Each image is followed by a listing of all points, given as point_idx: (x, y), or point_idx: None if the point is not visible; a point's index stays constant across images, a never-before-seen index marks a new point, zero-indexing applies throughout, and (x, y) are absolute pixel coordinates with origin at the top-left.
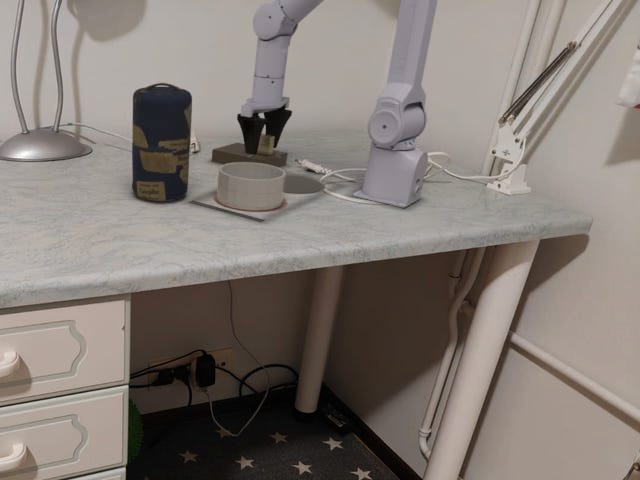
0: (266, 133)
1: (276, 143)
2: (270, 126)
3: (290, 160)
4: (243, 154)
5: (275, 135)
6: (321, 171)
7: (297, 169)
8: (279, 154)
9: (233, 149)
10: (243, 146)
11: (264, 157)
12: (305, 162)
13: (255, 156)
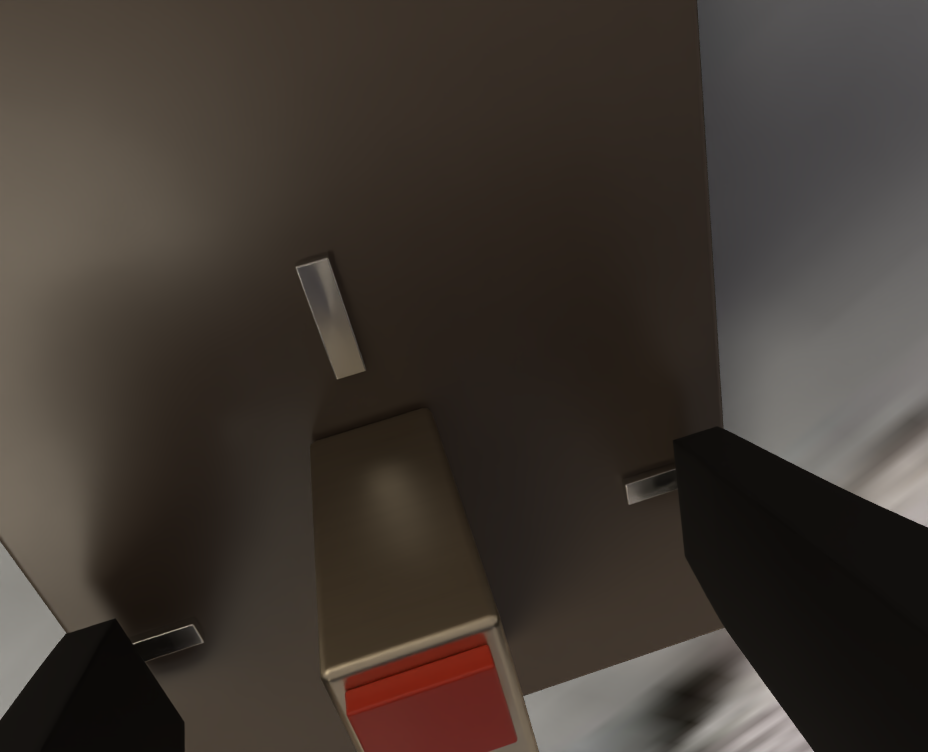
0: (799, 556)
1: (725, 622)
2: (916, 728)
3: (886, 393)
4: (103, 528)
5: (800, 688)
6: (747, 730)
7: None
8: (588, 656)
9: (136, 182)
10: (506, 75)
11: (304, 712)
12: (917, 501)
13: (218, 653)
